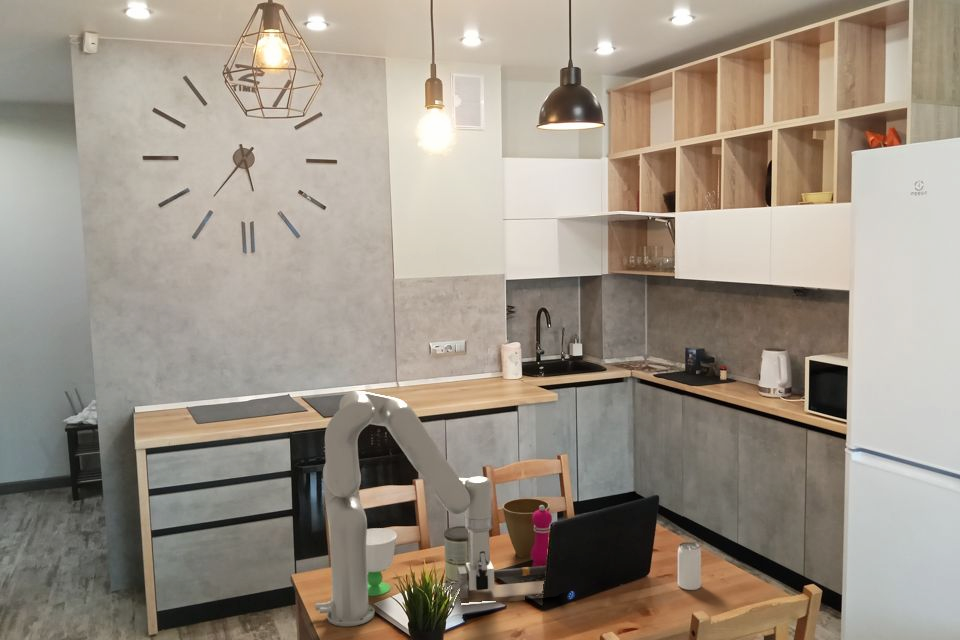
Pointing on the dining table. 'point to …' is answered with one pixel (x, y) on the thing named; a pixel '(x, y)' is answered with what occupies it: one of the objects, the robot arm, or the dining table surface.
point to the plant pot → (522, 523)
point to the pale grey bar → (501, 586)
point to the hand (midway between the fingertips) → (480, 583)
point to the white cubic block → (473, 572)
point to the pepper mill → (540, 536)
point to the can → (689, 566)
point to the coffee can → (455, 551)
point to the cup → (379, 558)
